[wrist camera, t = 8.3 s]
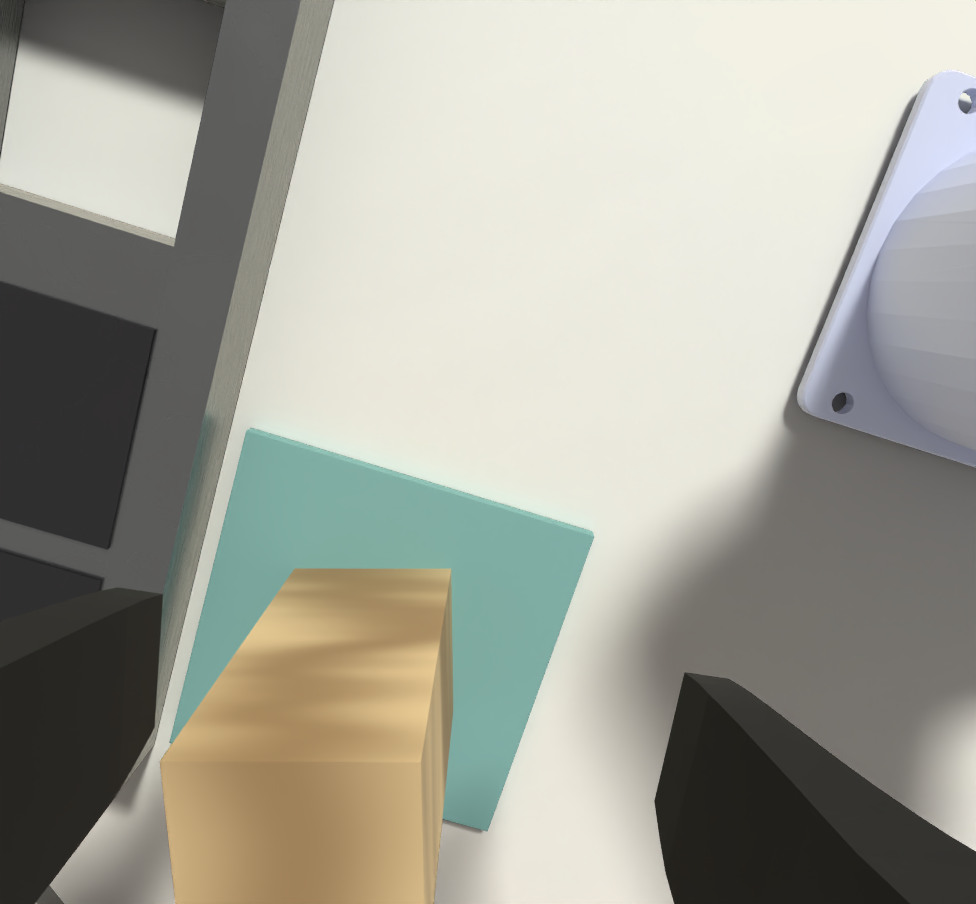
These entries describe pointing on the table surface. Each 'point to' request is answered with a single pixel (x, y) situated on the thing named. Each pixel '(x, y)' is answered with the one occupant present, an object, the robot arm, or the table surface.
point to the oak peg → (321, 748)
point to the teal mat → (399, 545)
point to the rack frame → (142, 337)
